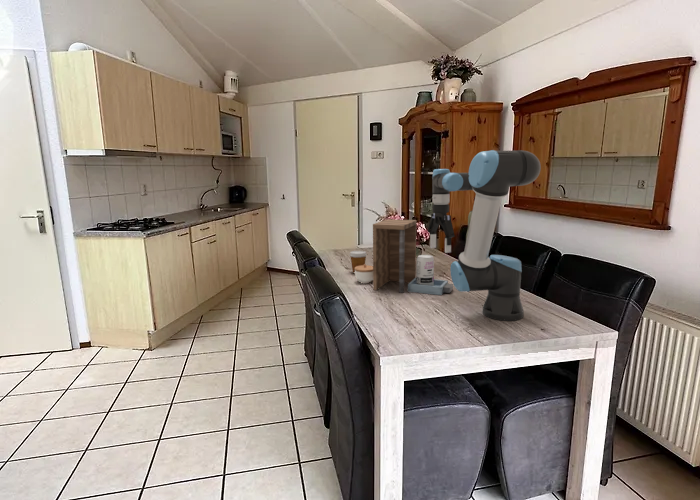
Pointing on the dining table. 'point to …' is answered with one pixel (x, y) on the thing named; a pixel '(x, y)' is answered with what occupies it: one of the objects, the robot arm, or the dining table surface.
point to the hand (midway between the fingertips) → (440, 250)
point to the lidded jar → (364, 273)
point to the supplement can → (425, 270)
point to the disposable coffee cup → (357, 258)
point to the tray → (431, 287)
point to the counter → (394, 252)
